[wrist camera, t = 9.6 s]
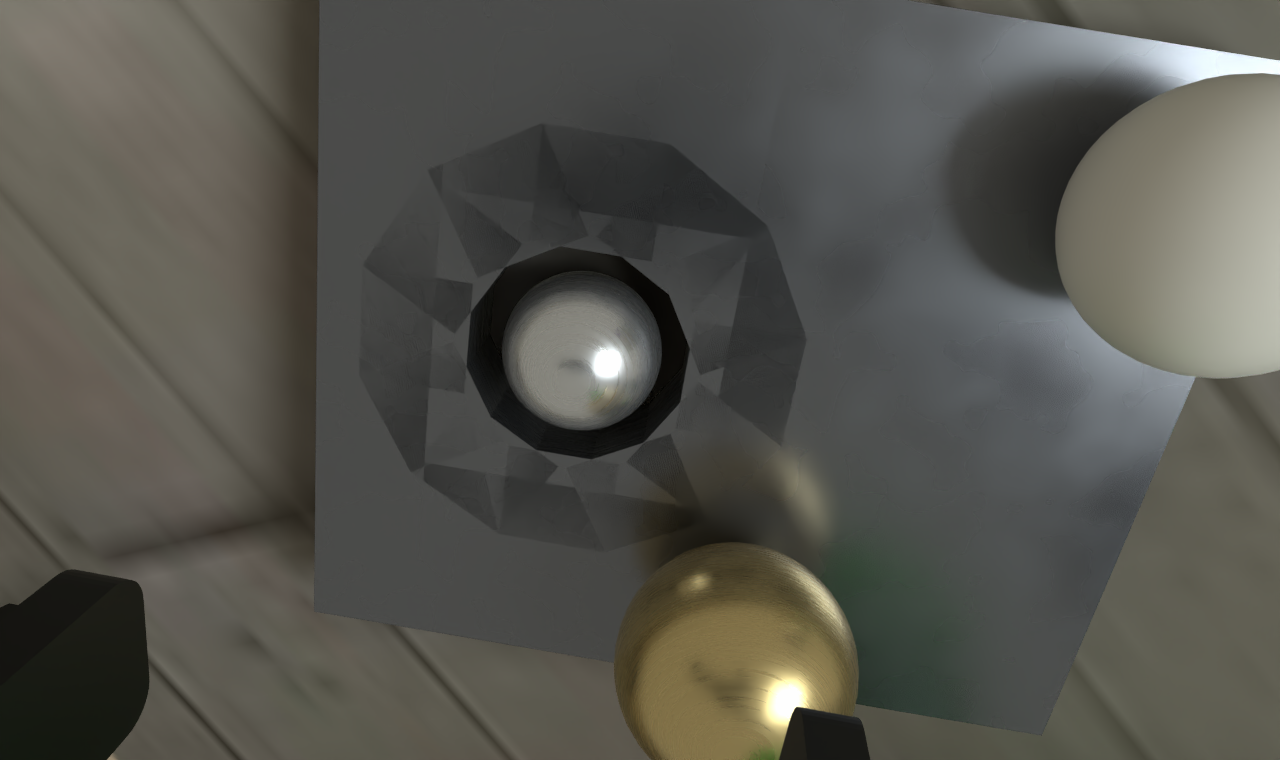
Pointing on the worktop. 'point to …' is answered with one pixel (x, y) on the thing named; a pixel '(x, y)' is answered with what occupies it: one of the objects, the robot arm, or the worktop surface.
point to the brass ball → (730, 654)
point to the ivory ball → (1182, 230)
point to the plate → (735, 323)
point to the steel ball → (581, 350)
